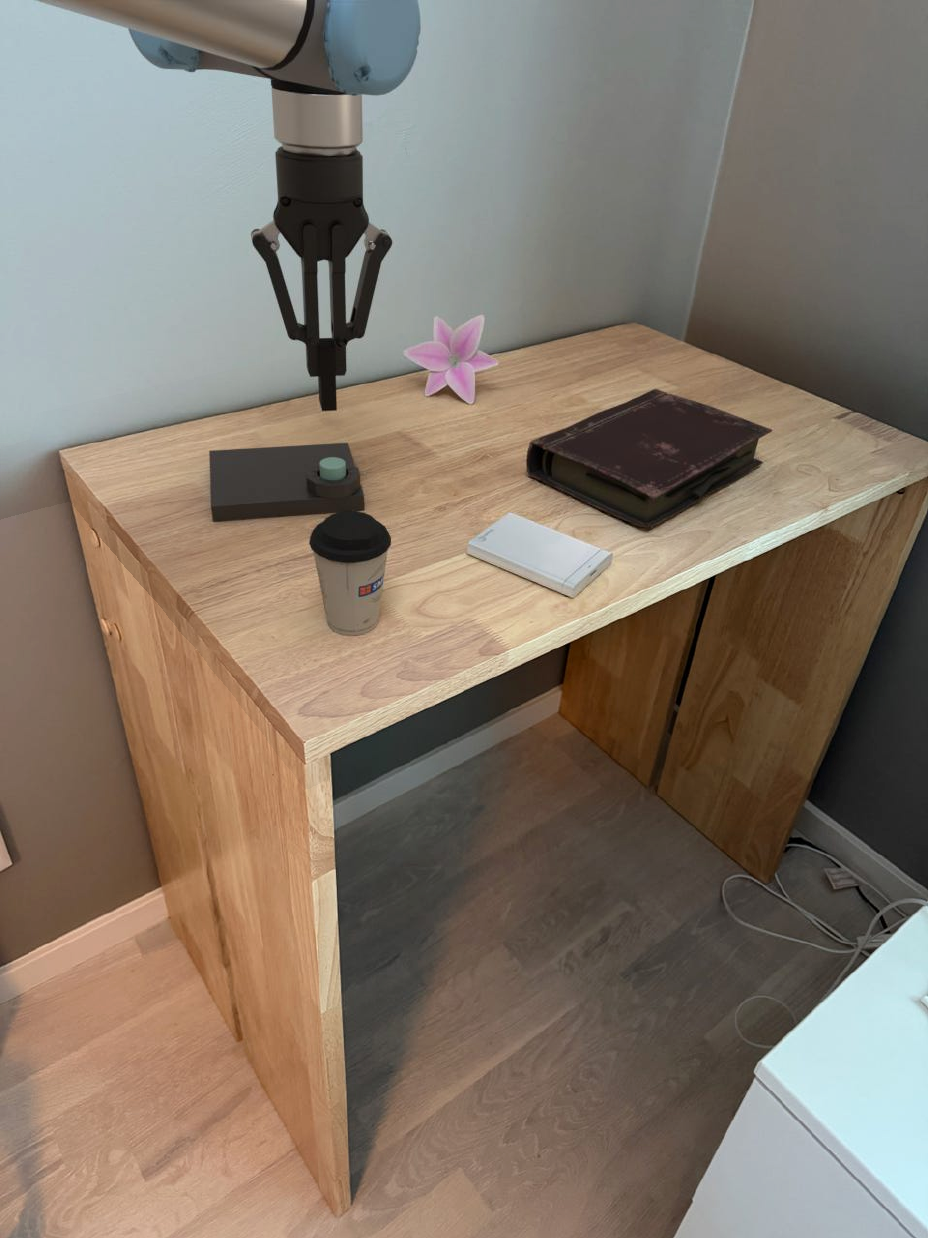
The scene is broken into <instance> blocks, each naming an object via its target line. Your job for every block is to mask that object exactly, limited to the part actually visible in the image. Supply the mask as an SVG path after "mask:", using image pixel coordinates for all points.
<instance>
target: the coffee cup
mask: <svg viewBox="0 0 928 1238" xmlns="http://www.w3.org/2000/svg"><path fill="white" fill-rule="evenodd" d="M308 544H309V547H310V548H311V551H313V557H314V563H315V568H316V571H317V577H318V582H319V587H320V593H321V597H322V602H323V607H324V612H325V617H326V623H327V625H328V627H329V629H331V630H332V631H333V632H335V633H337V634H339V635H343V636H361V635H364V634H365V635H366V634H367V633H370V632H371V631H372V630H373V629H375V628H376V626H377V625H378V622H379V616H380V610H381V609H380V608H381V602H382V595H383V594H382V593H383V589H384V588H383V587H384V580H385V573H386V565H387V560H388V559H387V557H388V551H389V548H390V547H391V546H392V536H391V534H390V533H389V531H388V529H387V527H386V526H385V525H384V524H382V523H381V522H380V521H379V520H376V518H374V517H373V516H372V515H371V514H368V513H366V512H362V511H344V512H334V513H331V514H330V515H328V516H327V517H326V518H325V519H324V520H323V521H321V522H320V523H318V524H316V526H315V527H314V528H313V529H312V532H311V534H310V536H309V541H308Z"/></svg>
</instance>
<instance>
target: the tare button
mask: <svg viewBox="0 0 928 1238" xmlns="http://www.w3.org/2000/svg"><path fill="white" fill-rule="evenodd" d="M319 466H320V477H321V478H322V479H325V480H340V479H343V478H345V477H346V463H345V461H344V460H343V459H341V458H336V457H329V458H325V459H322V460H321V461H320V463H319Z"/></svg>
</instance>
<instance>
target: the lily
mask: <svg viewBox="0 0 928 1238" xmlns="http://www.w3.org/2000/svg"><path fill="white" fill-rule="evenodd" d="M484 326H485V315H483V314H480V315H477V316H475V317H473V318H470V319H469V320H467V321H466V322H464V323H463V324H461V325H460V326H458V327H457V328H456V329H455V330H453V329H452V327H451V326H450V325H449V324H448V323H446V322H445V321H444V320H443V318H441V317H440V316H434V319H433V340H428V341H425V342H421V343H417V344H415V345H412V346H409V347H408V348H405V349H404V350H403V352H402V354H403V356H404V357H405V358H407V359H408V360H410V361H411V362H413V363H415V364H417V365H418V366H420V367H421V368H423V369H426V370H428V371H429V374H428V376H427V379H426V384H425V389H424V395H425V397H430V396H432V395H434V394H435V393H437V392H438V391H440V390H442V389H443V388H444V387H445V388H446V386H447V385H448V387H450V389H451V390H452V391H454V393H455V394H456V395H458V397H459V398H461V399H462V400H463V401H464V402H465V403H467V404H468V405H473V404H474V402H475V398H476V397H475V395H476V374H475V373H476V372H480V371H484V370H488V369H490V368H494V367H496V366H498V365H499V364H500V363H499V361H498V360H497V359H496V358H495V357H493V356H491V355H490V354H488V353H486V352H485V351H482V350H480V349H478V348H479V346H480V344H481V343H480V342H481V338H482V335H483V331H484Z"/></svg>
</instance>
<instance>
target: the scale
mask: <svg viewBox="0 0 928 1238" xmlns="http://www.w3.org/2000/svg"><path fill="white" fill-rule="evenodd" d="M208 453H209V454H208V456H209V457H208V458H209V488H210V489H209V490H210V491H209V492H210V493H209V494H210V509H211V517H212V522H226V521H239V520H253V519H263V518H264V519H265V518H280V517H291V516H293V517H294V516H305V515H318V514H330V513H331V514H334V513H338V512H344V511H357V512H360V511H365V493H364V490H363V487H362V484H361V473H360V470H359V467H357V466H356V464H355V461H354V457H353V455H352V454H353V453H352V451H351V448H350V445H349V443H348V442H336V443H335V442H334V443H333V442H332V443H318V444H317V443H315V444H301V445H298V444H297V445H283V446H282V445H281V446H265V447H252V448H251V447H248V448H231V449H214V450H209V451H208ZM329 457H336V458H341V459H343V460H344V461H345V463H346V477H345V478H343V479H340V480H325V479H322V478H321V477H320V466H319V463H320V461H321V460H322V459H325V458H329Z"/></svg>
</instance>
